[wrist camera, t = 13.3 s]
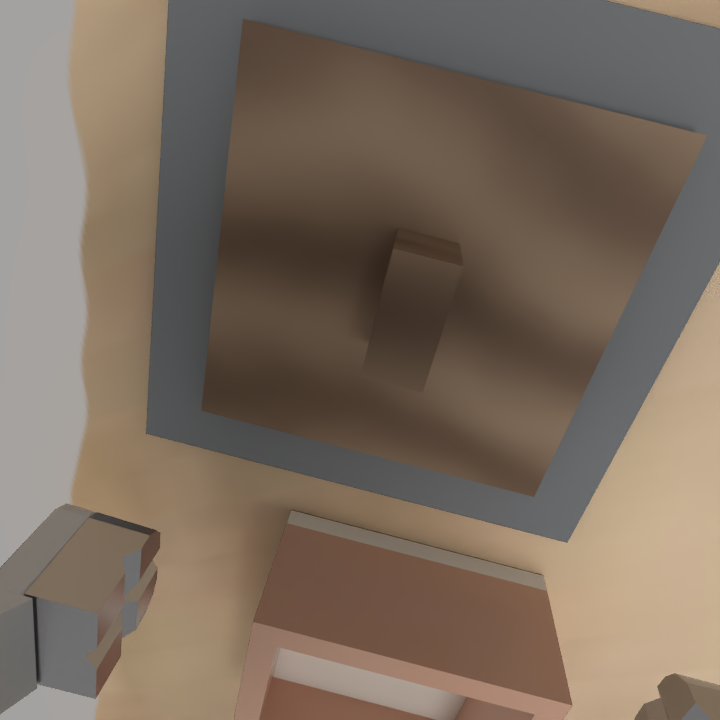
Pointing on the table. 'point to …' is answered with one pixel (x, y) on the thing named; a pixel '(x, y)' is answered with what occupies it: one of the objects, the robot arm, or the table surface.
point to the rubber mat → (478, 59)
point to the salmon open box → (397, 634)
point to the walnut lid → (424, 255)
